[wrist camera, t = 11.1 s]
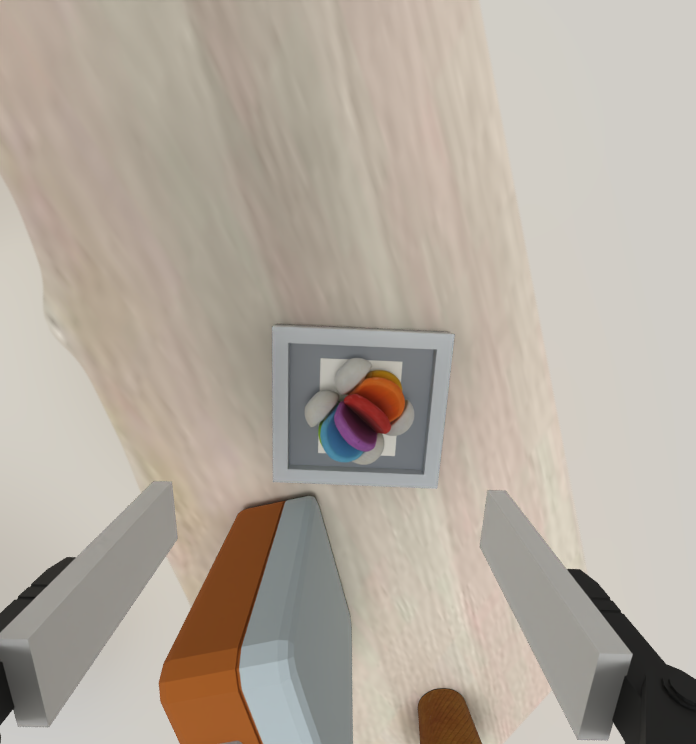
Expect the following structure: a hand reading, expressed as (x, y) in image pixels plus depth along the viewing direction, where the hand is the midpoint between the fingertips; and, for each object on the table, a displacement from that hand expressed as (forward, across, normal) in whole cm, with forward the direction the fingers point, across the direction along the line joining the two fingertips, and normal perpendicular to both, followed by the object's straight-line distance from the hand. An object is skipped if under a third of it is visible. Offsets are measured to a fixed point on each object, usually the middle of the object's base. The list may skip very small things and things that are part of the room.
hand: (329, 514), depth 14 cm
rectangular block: (+22, -4, -22) cm, 31 cm away
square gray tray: (+22, +2, -3) cm, 22 cm away
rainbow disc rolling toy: (+20, +2, -2) cm, 21 cm away
